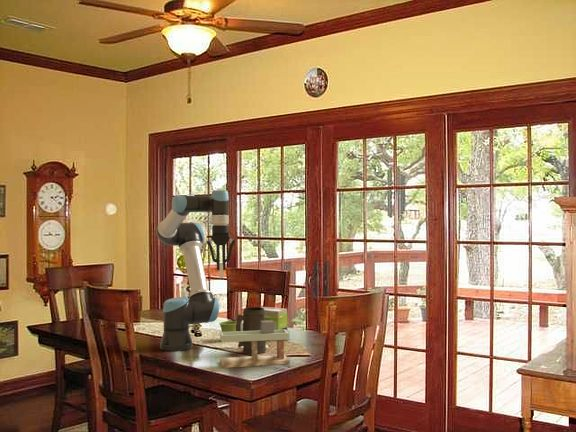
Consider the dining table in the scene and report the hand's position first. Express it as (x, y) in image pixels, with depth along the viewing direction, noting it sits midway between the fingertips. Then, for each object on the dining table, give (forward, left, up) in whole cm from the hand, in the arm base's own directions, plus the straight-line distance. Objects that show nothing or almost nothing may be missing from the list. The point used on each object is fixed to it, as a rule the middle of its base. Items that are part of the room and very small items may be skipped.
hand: (221, 277), depth 275 cm
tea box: (+27, +33, -35) cm, 55 cm away
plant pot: (+6, +32, -35) cm, 48 cm away
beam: (+12, -19, -24) cm, 33 cm away
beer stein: (+13, +1, -35) cm, 37 cm away
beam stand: (+12, -19, -34) cm, 41 cm away
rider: (+17, -19, -23) cm, 35 cm away
